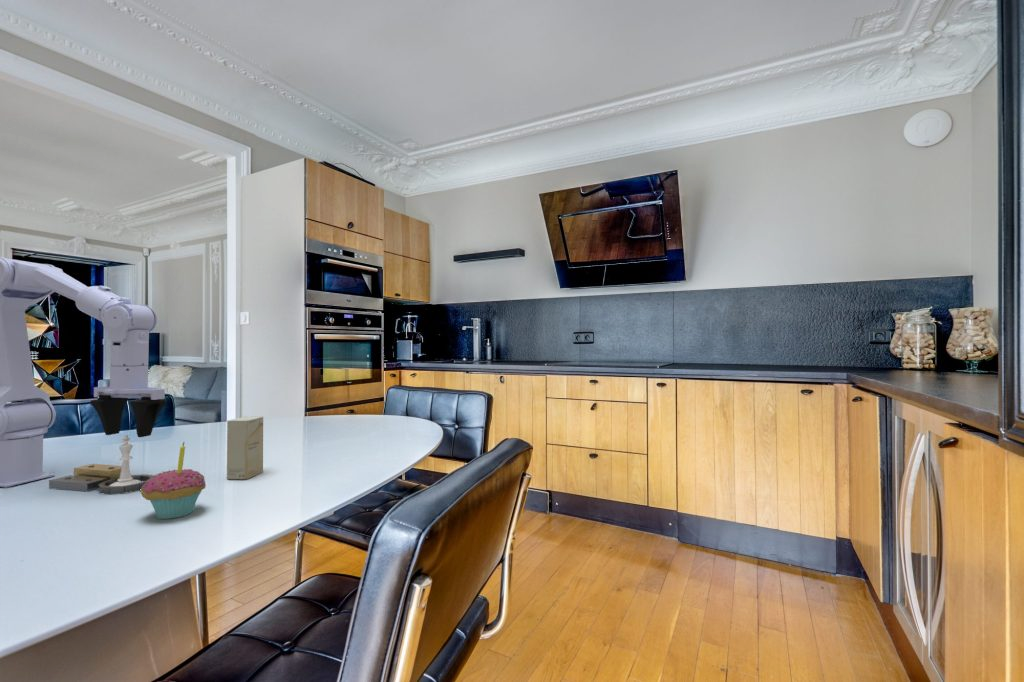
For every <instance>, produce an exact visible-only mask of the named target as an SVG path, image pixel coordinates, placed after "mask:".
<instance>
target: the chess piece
mask: <svg viewBox="0 0 1024 682" xmlns="http://www.w3.org/2000/svg"><path fill="white" fill-rule="evenodd" d="M129 441H131V437H129V435H123V439H121V443H123V444H121V445H120V446H118V449H119V451H120V453H121V456H120V457H118V461H121V466H122V468H121V474H120V478H119V479H118V482H115V483H113V484H111V485H109V486H125V485H131V484H136V483H140V482H141V481H140V480H134V479H133V477H131V475H132V474H131V469H130V468H131V467H130V460H132V459H134V457H133V456H132V455H131V454H130V453H131V450H132V449H133V446H134V445H133V444H131V443H130V444H129Z"/></svg>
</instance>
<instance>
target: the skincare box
mask: <svg viewBox="0 0 1024 682" xmlns="http://www.w3.org/2000/svg"><path fill="white" fill-rule="evenodd" d="M226 423H227V425H226V426H227V428H226V429H227V431H226V433H227V434H226V436H227V437H226V438H227V439H226V441H227V442H226V479H227V480H248V479H250V478H252V477H255V476H257V475H259V474H261V473H263V472H264V416H262V415H261V416H249V415H248V416H246V415H245V416H241V417H237V418H234V419H229V420H227V421H226Z"/></svg>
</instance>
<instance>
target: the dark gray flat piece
mask: <svg viewBox="0 0 1024 682" xmlns="http://www.w3.org/2000/svg"><path fill="white" fill-rule="evenodd" d="M154 476H155V475H152V474H131V477H133V479H134V480H140V481H143V482H140V483H136V484H131V485H125V486H109V485H111V484H113V483H115V482H118V479H119V478H120V477H118V478H114V479H110V480H107V478H99V477H87V476H74V474H73V475H72V474H70V475H65V476H61V477H57V478H53V479H50V480H48V489H52V488H56V490H63V489H68V490H67V491H75V490H78V491H77V492H86V491H87V492H90V490H91V491H94V490H97V492H98V491H99V492H98V493H99V494H100V493H104V494H103V495H116V494H115V493H120V494H125V493H124V492H128V493H131V492H130V491H133V492H136V491H135V490H139V491H141V490H140V489H141V488H142V486H143V485H144V484H145V483H146V482H147V481H148V480H150V479H151V477H154ZM97 488H98V489H97ZM93 489H94V490H93Z"/></svg>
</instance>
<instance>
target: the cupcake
mask: <svg viewBox="0 0 1024 682" xmlns="http://www.w3.org/2000/svg"><path fill="white" fill-rule="evenodd" d="M185 442H186V441H183V442H182V444H181V446H180V447H179V455H178V462H177V469H172V470H168V471H162V472H159V473H158V474H155V475H153V476H154V477H151V479H150V480H148V481H147V482H146V483H145V484H144V485H143V486H142V488H141V490H140V494H141V496H142V498H144V499H145V500H147V501H150V503H151V505H152V508H153V509H154V512H155V515H156V517H157V518H158V519H162V520H169V519H170V518H171V519H177V518H181V516H182V517H185V516H187V515H189V513H190V514H192V512H193V511H194V509H195V505H196V503H197V501H198V498H199V496H200V495H201V494H202V491H203V490H204V489H205V488H206V485H207V484H206V481H205V476H204V475H203V474H202V473H200V472H199V471H197V470H194V469H189V468H187V469H183V467H184V459H185V451H186V446H185Z"/></svg>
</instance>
